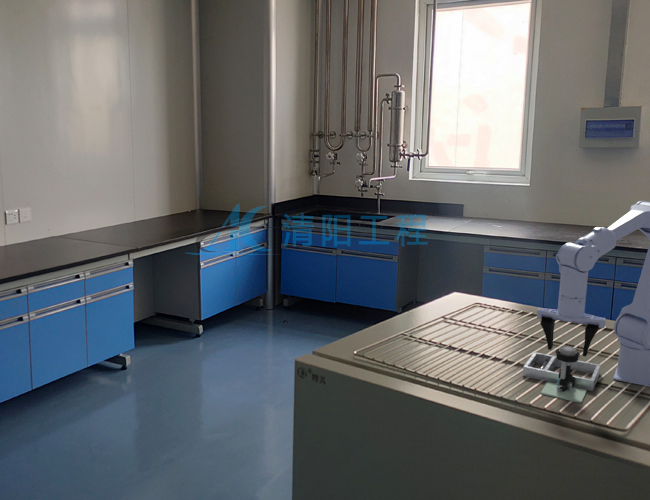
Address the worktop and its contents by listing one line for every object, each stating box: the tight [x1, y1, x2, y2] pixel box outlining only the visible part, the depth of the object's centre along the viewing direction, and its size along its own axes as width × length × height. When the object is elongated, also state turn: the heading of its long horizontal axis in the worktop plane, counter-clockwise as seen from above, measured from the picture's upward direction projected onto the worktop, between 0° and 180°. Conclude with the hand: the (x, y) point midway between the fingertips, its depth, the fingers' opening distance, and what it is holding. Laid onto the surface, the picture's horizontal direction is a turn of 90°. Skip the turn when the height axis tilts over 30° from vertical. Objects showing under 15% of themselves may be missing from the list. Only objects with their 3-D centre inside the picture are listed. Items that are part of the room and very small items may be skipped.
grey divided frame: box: [522, 351, 602, 392], centre depth 153 cm, size 16×12×2 cm
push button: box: [555, 345, 581, 392], centre depth 143 cm, size 7×5×10 cm
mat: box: [540, 381, 588, 404], centre depth 143 cm, size 9×7×1 cm
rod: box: [538, 361, 549, 370], centre depth 155 cm, size 2×8×2 cm
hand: (567, 351), depth 141 cm, fingers open, 7 cm apart
